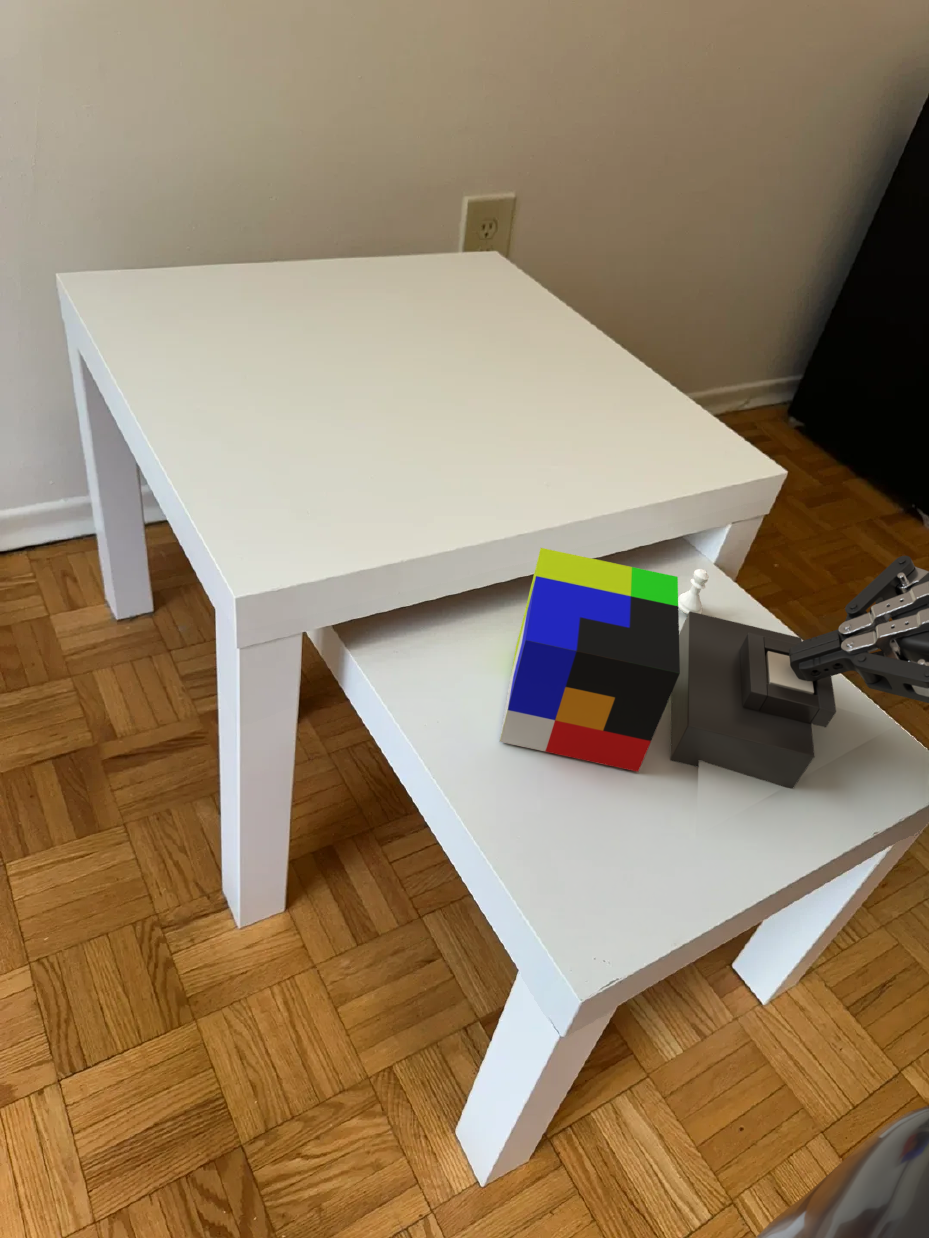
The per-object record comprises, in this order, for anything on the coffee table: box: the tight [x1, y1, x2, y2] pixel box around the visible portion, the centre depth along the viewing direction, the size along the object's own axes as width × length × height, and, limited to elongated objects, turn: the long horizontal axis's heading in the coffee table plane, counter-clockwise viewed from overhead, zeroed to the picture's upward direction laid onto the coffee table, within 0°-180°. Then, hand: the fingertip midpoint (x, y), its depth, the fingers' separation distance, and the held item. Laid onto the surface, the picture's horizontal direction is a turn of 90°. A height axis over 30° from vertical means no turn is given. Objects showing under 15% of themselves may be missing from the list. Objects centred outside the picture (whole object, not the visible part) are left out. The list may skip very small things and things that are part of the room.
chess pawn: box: [678, 568, 710, 615], centre depth 79 cm, size 3×2×4 cm
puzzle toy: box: [499, 547, 680, 773], centre depth 66 cm, size 10×10×10 cm
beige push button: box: [765, 651, 814, 694], centre depth 68 cm, size 3×3×2 cm
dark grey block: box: [669, 611, 837, 790], centre depth 70 cm, size 12×10×6 cm
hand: (793, 665), depth 67 cm, fingers closed
